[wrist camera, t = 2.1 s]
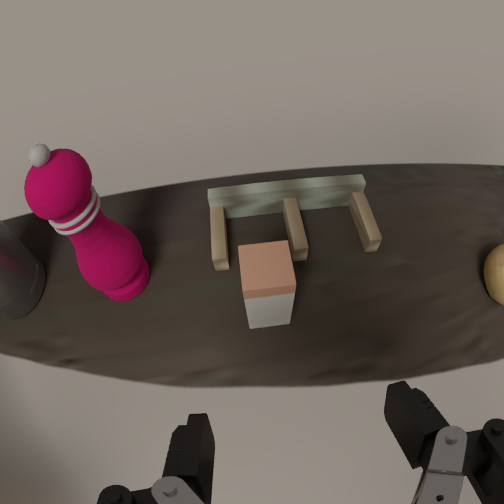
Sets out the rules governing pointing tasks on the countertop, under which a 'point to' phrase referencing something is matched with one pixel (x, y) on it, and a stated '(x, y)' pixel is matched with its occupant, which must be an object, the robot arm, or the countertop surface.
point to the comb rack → (290, 209)
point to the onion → (495, 274)
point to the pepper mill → (85, 222)
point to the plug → (267, 283)
